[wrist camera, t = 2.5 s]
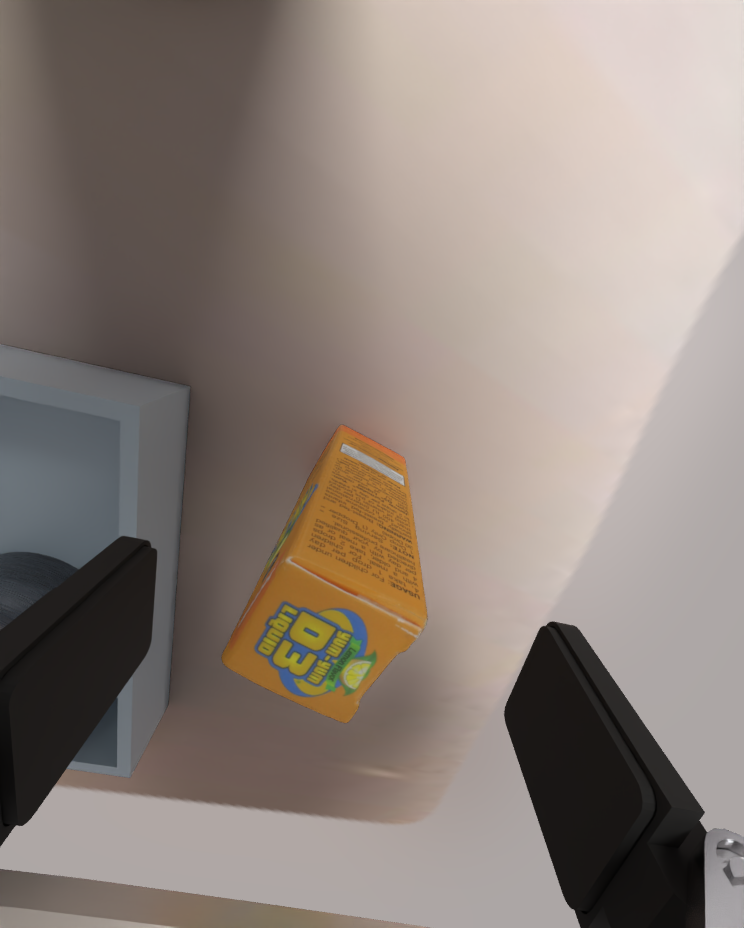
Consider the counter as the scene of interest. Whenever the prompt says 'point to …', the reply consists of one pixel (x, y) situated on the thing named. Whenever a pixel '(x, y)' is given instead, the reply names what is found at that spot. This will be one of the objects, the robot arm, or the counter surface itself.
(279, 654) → the supplement box
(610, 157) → the counter surface
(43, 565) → the tin
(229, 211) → the counter surface
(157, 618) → the tote
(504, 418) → the counter surface
